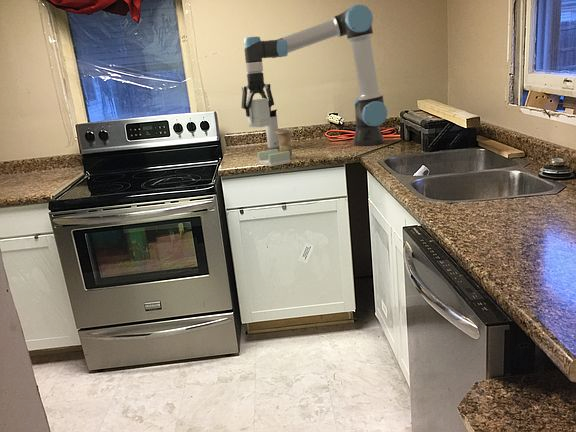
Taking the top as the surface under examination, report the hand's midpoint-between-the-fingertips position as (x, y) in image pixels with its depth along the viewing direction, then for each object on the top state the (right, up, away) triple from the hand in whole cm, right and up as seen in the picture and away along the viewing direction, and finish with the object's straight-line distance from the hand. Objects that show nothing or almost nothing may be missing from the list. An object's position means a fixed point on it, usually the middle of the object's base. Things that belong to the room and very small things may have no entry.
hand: (259, 122), depth 243 cm
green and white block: (+7, -20, -9) cm, 23 cm away
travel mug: (+6, -8, +31) cm, 33 cm away
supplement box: (0, -2, +1) cm, 2 cm away
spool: (+13, -16, +1) cm, 21 cm away
